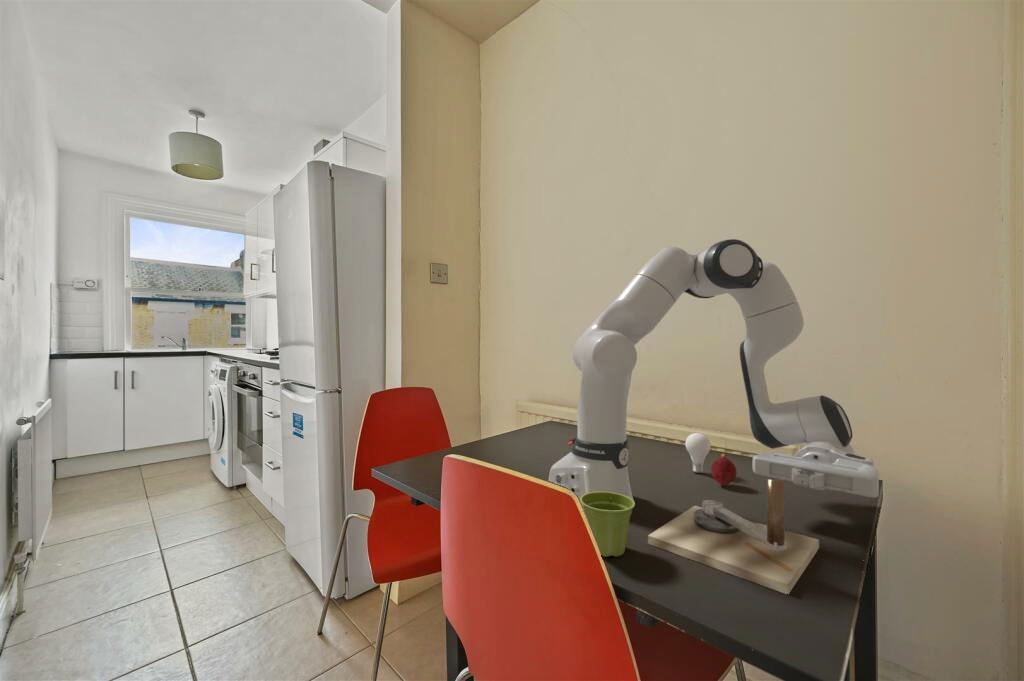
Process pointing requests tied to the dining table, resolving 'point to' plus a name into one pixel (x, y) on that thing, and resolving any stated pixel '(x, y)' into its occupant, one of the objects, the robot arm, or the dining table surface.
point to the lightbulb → (697, 450)
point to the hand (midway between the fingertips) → (802, 481)
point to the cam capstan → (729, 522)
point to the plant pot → (608, 520)
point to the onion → (723, 470)
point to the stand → (738, 551)
